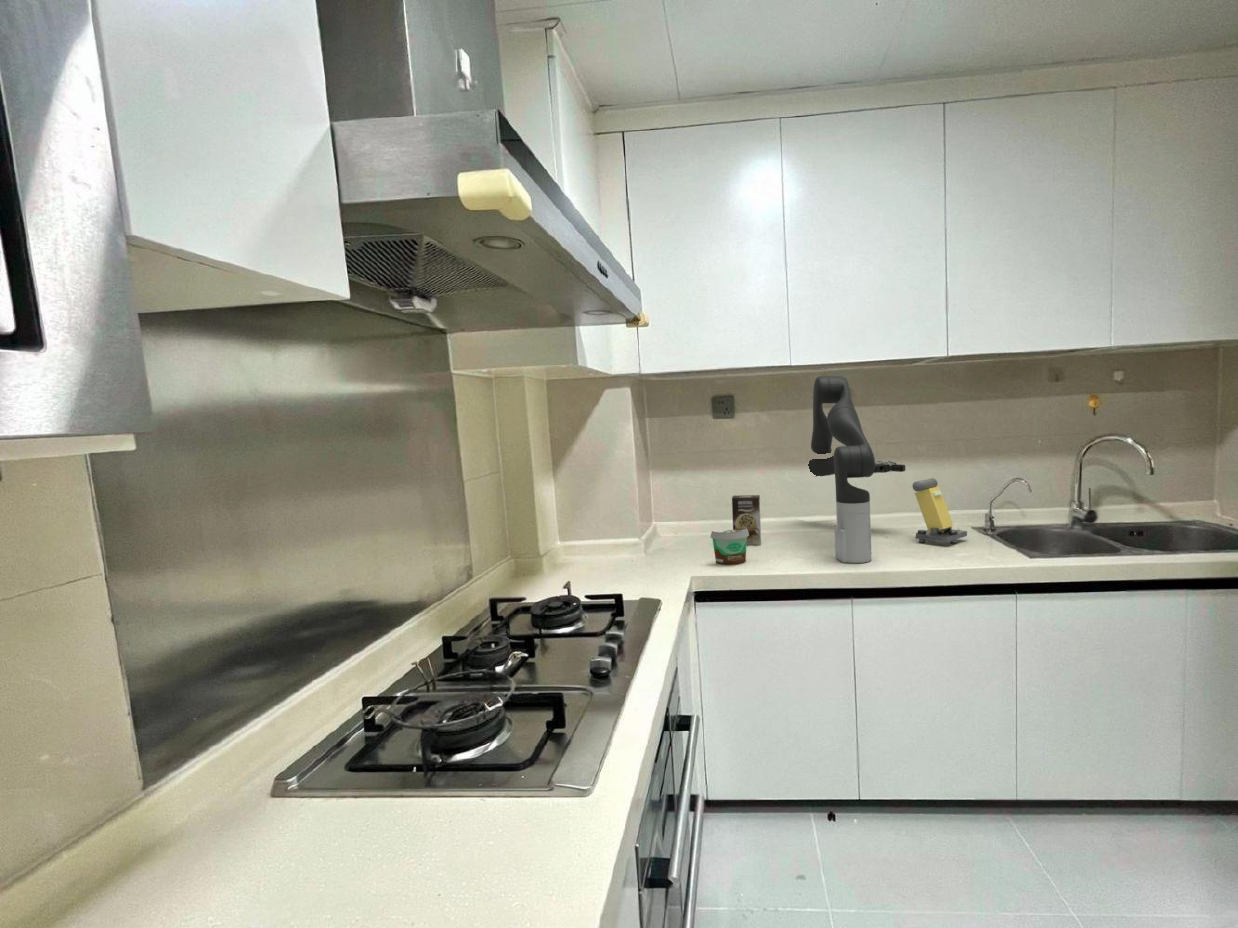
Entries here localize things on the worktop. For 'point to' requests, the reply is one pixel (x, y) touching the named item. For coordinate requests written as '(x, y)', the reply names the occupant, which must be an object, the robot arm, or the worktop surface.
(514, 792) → the worktop surface
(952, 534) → the tribrach
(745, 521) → the coffee box
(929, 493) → the grey-capped yellow box
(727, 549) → the food container
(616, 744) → the worktop surface
